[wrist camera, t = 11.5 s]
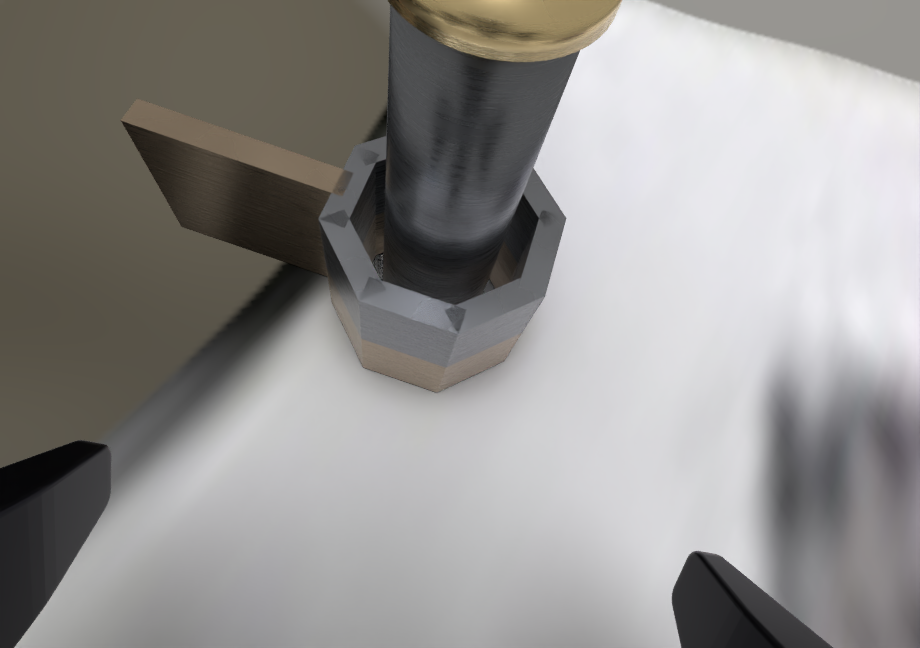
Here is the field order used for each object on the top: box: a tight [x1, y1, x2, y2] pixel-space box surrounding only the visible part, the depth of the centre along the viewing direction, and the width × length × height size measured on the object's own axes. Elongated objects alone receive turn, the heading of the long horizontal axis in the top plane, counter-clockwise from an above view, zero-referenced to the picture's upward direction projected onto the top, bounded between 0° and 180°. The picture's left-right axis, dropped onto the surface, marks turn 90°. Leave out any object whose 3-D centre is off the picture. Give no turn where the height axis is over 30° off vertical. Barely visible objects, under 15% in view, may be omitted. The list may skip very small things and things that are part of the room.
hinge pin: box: [383, 0, 622, 306], centre depth 14 cm, size 4×4×12 cm
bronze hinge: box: [121, 99, 566, 392], centre depth 18 cm, size 12×12×5 cm
